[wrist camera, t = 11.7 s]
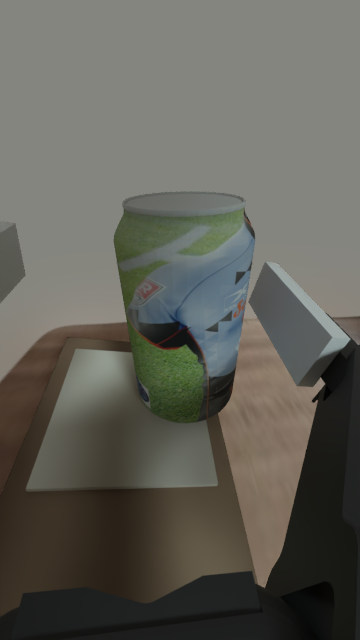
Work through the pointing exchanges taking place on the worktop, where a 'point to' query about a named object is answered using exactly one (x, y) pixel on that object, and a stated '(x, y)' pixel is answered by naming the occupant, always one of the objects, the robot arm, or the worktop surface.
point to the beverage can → (184, 297)
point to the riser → (115, 490)
